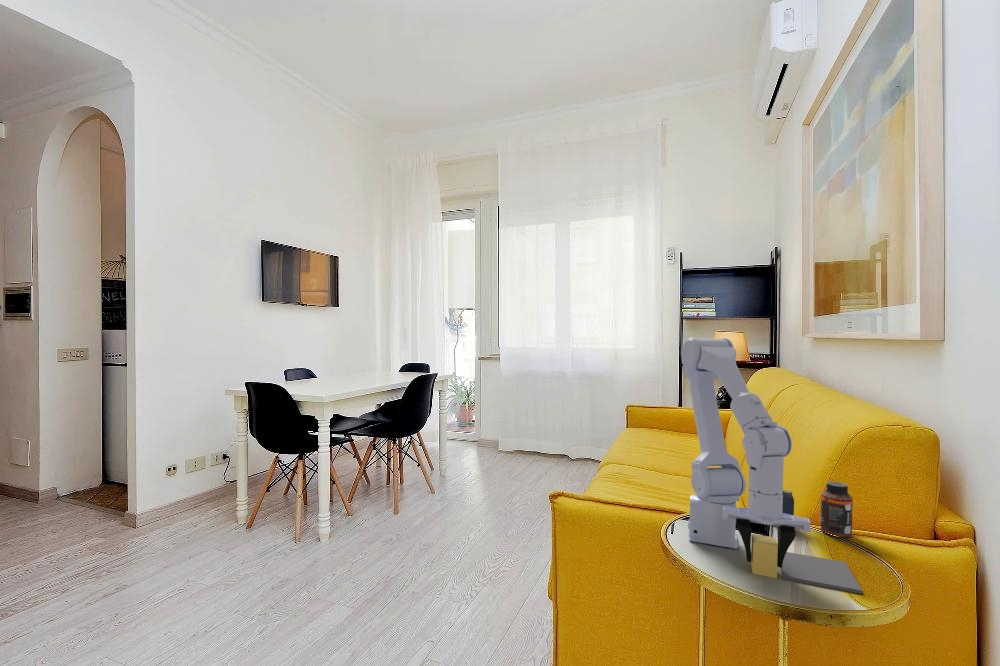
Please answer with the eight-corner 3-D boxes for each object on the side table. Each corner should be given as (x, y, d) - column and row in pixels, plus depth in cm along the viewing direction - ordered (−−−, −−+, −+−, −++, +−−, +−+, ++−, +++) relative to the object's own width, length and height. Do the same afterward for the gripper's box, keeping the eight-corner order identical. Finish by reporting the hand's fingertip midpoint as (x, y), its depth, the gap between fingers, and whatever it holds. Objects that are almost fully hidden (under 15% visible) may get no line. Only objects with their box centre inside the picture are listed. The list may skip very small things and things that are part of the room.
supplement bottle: (857, 540, 109) (858, 488, 109) (827, 537, 111) (828, 486, 111) (844, 529, 115) (845, 481, 115) (815, 527, 116) (817, 479, 116)
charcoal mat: (783, 579, 91) (783, 575, 91) (775, 552, 102) (775, 550, 102) (862, 594, 86) (862, 590, 86) (845, 564, 97) (845, 561, 97)
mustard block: (752, 573, 93) (753, 541, 93) (750, 564, 96) (751, 533, 96) (776, 578, 91) (777, 545, 91) (774, 568, 95) (775, 537, 95)
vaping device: (767, 521, 119) (768, 471, 119) (792, 525, 117) (793, 474, 117) (768, 525, 117) (769, 474, 117) (794, 529, 115) (795, 477, 115)
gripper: (723, 490, 93) (722, 563, 93) (814, 502, 87) (812, 580, 87) (723, 480, 99) (721, 548, 99) (807, 491, 94) (805, 563, 94)
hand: (763, 562), depth 94 cm, fingers open, 4 cm apart
